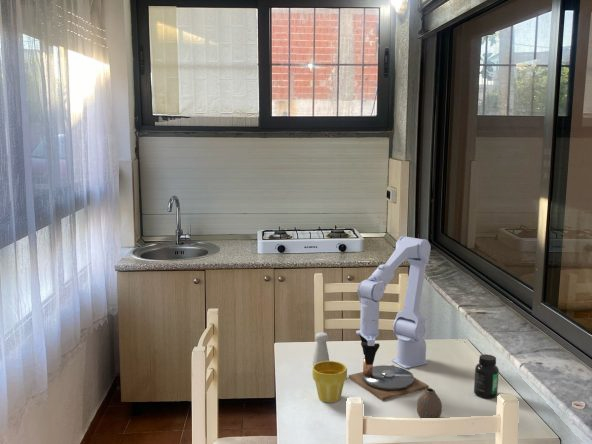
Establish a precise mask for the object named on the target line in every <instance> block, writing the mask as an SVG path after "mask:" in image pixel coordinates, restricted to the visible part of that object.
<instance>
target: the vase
mask: <svg viewBox="0 0 592 444" xmlns="http://www.w3.org/2000/svg"><path fill="white" fill-rule="evenodd" d="M442 412H443V405H442V402H441V399H440V397H439V395H438V394H437V393H436V391H435V389H434V388H431V387H429V388H427V389H425V390H424V392H422V394H421V395H420V396H419V397H418V399H417V402H416V413H417V415H418V417H419V419H421V418H439V419H440V417H441V416H442Z"/></svg>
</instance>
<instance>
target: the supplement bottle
mask: <svg viewBox="0 0 592 444" xmlns="http://www.w3.org/2000/svg"><path fill="white" fill-rule="evenodd" d="M474 368H475V369H474V383H473V384H474V387H473V393H474V394H475V395H476V397H479V398H481V399H485V400H486V399H487V400H492V399H495V398H496V397H497V396H498V388H499V375H500V371H499V370H500V369H499V367H498V366H497V357H496V356H494V355H491V354H480V355H479V360H478V363H477V364H476V365H475V367H474Z"/></svg>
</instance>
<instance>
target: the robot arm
mask: <svg viewBox="0 0 592 444" xmlns="http://www.w3.org/2000/svg"><path fill="white" fill-rule="evenodd" d="M431 249H432V247H431V244H430V242H429V241H428V239H425V238H424V239H422V238H416V237H409V236H406V235H402V236H400V237H399V238H398V240H397V241H396V242H395V250H394V251H393V253H392V254H391V256H390V257H389V258H388V259H387V261H386V262H385V264H379V265H378V266H377V268H376V269H375V270H374V271H373V273H371V275H370V276H369V277H368V278H367V279H363V280H361V281H360V283H359V284H358V288H357V289H356V292H357V296H358V299H359V303H360V317H359V319H360V321H359V322H360V324H359V329H357V330H356V331H355V334H356V335H358V336H359V338H360V341H361V342H360V345H361V348H362V352H363V355H364V358H365V362H366V365H373V366H374V362H375V357H376V354H377V351H378V350H379V348H380V343H377V342H376V343H375V341H376V339H378V337H379V335H380V333H379V324H380V323H379V322H380V321H379V319H380V300H381V299H383V296H384V293H385V290H386V287H387V285H389V283H390V282H391V281H392V280H393V278H394V277H395V270H396V269H397V268H398V267H400V266H401V265H402V263H404V261H406V260H407V261H408V264H409V270H408V271H409V272H408V278H407V284H406V290H405V297H404V304H403V309H402V310H400V311H398V312H397V313H396V316H395V318H394V319H395V320H394V321H393V324H392V331H393V334H395V335H396V336H395V337H396V338H397V353H396V357H394V358H392V359H391V362H393V363H395V364H397V365H398V366H400V367H401V368H403V369H410V368H414V367H418V366H423V365H427V364H428V362H427V360H426V356H427V344H426V340H425V338H424V337H425V334H426V319H425V317H424V316H423V314H421V312H420V308H421V307H420V305H421V301H422V300H421V299H422V294H423V286H424V280H425V276H426V275H425V273H426V267H427V264H429V262H430V255H431Z"/></svg>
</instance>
